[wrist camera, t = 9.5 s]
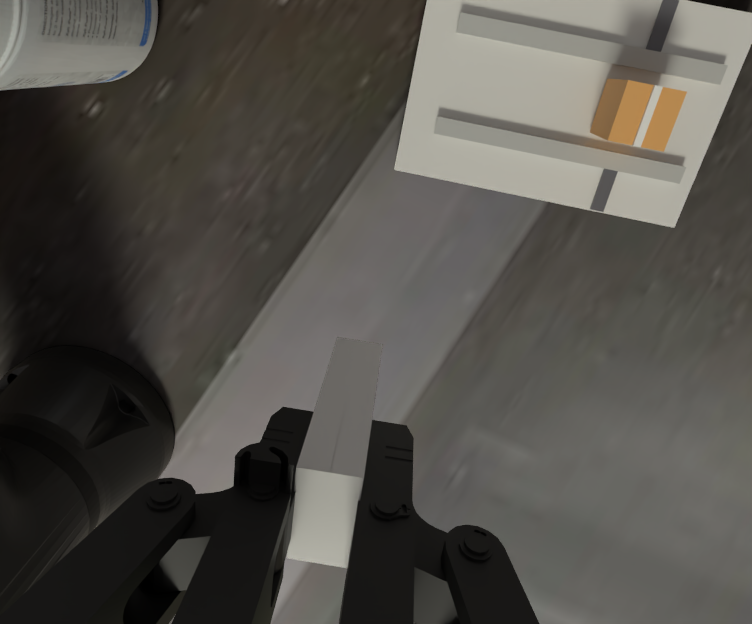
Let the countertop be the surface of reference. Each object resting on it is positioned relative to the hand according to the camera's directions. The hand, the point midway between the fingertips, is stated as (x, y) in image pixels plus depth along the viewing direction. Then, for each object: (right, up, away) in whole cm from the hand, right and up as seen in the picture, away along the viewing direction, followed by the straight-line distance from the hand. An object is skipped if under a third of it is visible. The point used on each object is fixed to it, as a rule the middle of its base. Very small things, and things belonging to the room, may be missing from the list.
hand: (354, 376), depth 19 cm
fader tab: (+15, +14, +14) cm, 25 cm away
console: (+12, +16, +16) cm, 25 cm away
